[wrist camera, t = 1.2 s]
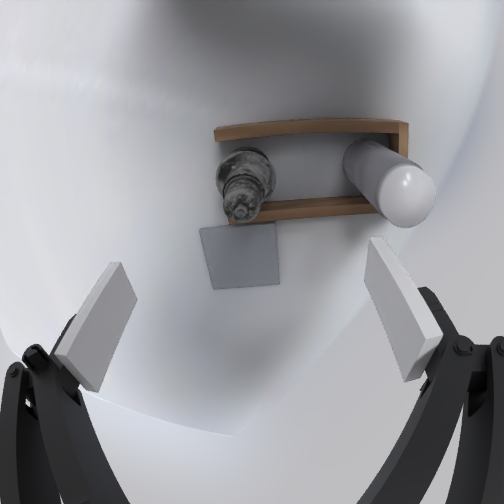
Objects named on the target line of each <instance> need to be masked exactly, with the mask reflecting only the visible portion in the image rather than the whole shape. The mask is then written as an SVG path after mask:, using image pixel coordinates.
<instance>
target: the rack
mask: <svg viewBox="0 0 504 504" xmlns="http://www.w3.org/2000/svg"><path fill="white" fill-rule="evenodd" d="M327 132H374V133H389V149H390V150H392V151H394V152H396V153H398V154H400V155H402V156H403V157H405V158H407V159H408V123H405V122H402V121H399V120H384V119H358V118H324V119H297V120H281V121H269V122H258V123H248V124H240V125H232V126H224V127H217V128H216V129H215V130H214V135H215V142H219V141H227V140H234V139H243V138H252V137H262V136H273V135H286V134H302V133H327ZM370 213H379V212H378V211H377V210H376V209H375V207H374V206H373V205H372V204H371V203H370V202H369V201H368V200H367V198H366V197H365V196H345V197H328V198H313V199H299V200H287V201H275V202H264V203H261V208H260V211H259V213H258V215H257V216H256V217H255V218H254V219H253V220H251V221H249V222H245V223H253V222H264V221H276V220H287V219H299V218H312V217H325V216H339V215H354V214H370ZM228 221H229V225H233V224H243V223H239V222H235V221H233V220H231V219H230V218H228Z"/></svg>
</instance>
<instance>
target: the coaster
mask: <svg viewBox="0 0 504 504" xmlns="http://www.w3.org/2000/svg"><path fill="white" fill-rule="evenodd" d="M199 231H200V236H201V240H202V244H203V249H204V253H205V257H206V261H207V265H208V270H209V274H210V278H211V282H212V286H213V289H224V288H239V287H252V286H265V285H277V284H280V281H279V267H278V254H277V242H276V230H275V221H272V222H261V223H250V224H239V225H229V226H219V227H210V228H200V230H199Z"/></svg>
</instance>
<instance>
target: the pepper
mask: <svg viewBox="0 0 504 504" xmlns="http://www.w3.org/2000/svg"><path fill="white" fill-rule="evenodd" d="M343 169H344V172H345V174H346V176H347V178H348V179H349V180H350V181H351V182H352V183H353V184H354V185H355V186H356V187H357V188H358V190H359V191H360V192H361V193H362V194H363V195H364V196H365V197H366V198H367V200H368V201H369V202H370V203H371V204H372V205H373V206H374V207H375V209H376V210H377V211H378V212H379V213H380V214H381V215H382V216H383V217H384V218H385V219H387V220H389V221H390V222H391V223H392V224H393V225H395V226H397V227H401V228H410V227H413V226H416V225H418V224H420V223H421V222H422V221H424V220H425V219H426V218H427V216H428V215H429V214H430V212H431V210H432V208H433V206H434V203H435V197H436V190H435V185H434V182H433V180H432V179H431V177H430V176H429V175H428V174H427V173H426V172H424V170H423V169H422V168H421V167H420V166H419V165H417V164H416V163H414V162H412V161H410V160H409V159H407V158H405V157H403V156H402V155H400V154H398V153H396V152H394V151H392V150H390V149H388V148H387V147H385V146H383V145H381V144H379V143H377V142H375V141H372V140H367V139H364V140H359V141H356V142H354V143H353V144H352V145H351V146H349V148H348V149H347V150H346V152H345V154H344V157H343Z"/></svg>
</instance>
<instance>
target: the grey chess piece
mask: <svg viewBox="0 0 504 504" xmlns="http://www.w3.org/2000/svg"><path fill="white" fill-rule="evenodd" d="M216 185H217V188H218V191H219V192H220V194H221V195H222V197H223V199H224V202H223V208H224V211H225V214H226V215H227V217H228V218H230V219H231V220H233V221H235V222H239V223H245V222H249V221H251V220H253V219H254V218H255V217H256V216H257V215H258V213H259V211H260V208H261V203H262V202H264V201H265V200H266V199H267V198H268V197H270V195H271V193H272V192H273V190H274V187H275V172H274V169H273V167H272V165H271V164H270V162H269V160H268V158H267V157H266V155H264V154H263V153H262V152H261V151H259V150H257V149H255V148H251V147H242V148H239V149H236V150H234V151H233V152H231V153H230V154H229V155H228V156H227V157H226V158H225V159H224V160H223V161H222V162H221V163H220V165H219V167H218V169H217V173H216Z"/></svg>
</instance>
